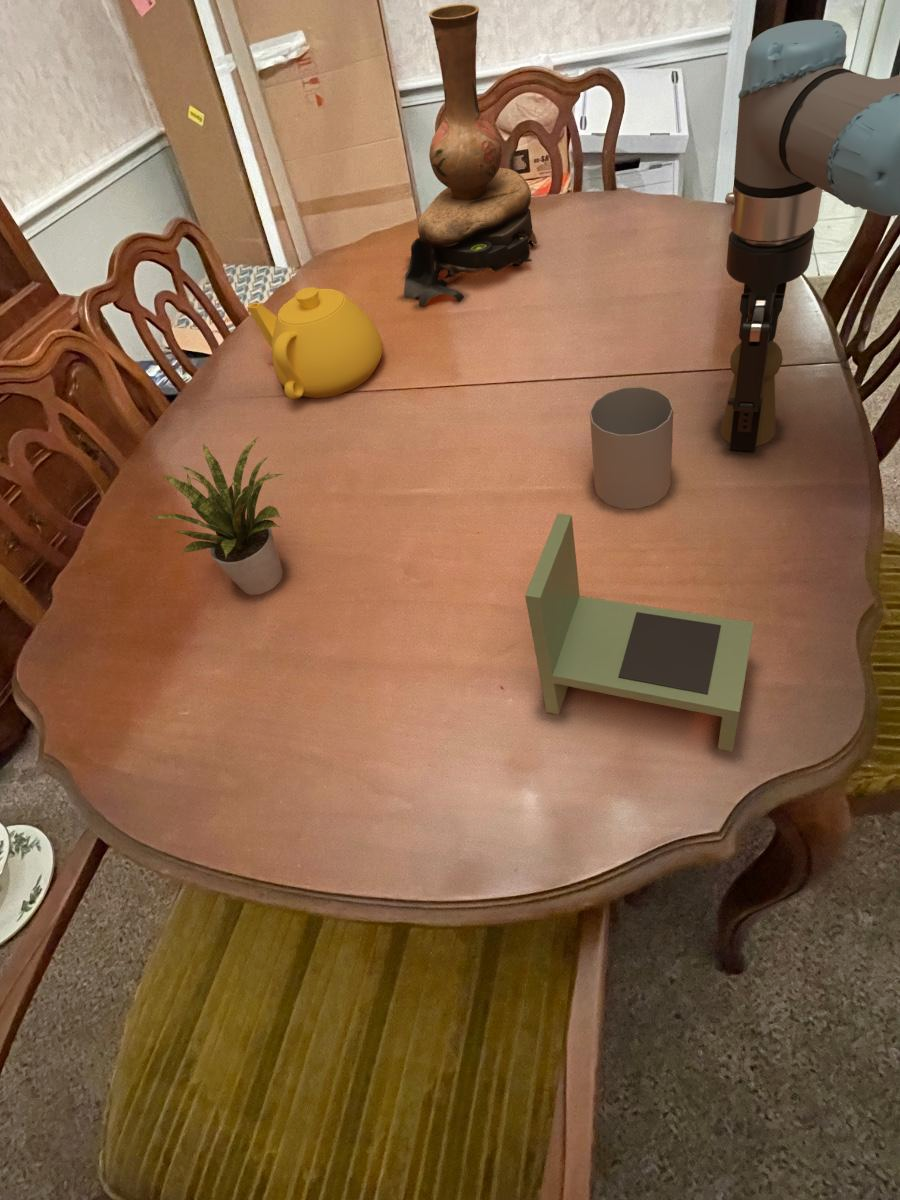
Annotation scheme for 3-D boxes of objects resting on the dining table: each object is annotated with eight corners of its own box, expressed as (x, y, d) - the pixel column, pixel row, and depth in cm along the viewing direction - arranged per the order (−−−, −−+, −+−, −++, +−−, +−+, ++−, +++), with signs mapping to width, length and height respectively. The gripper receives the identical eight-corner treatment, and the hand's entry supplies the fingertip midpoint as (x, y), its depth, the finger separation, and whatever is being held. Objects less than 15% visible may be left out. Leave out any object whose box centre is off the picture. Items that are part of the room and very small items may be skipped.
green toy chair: (746, 665, 67) (768, 536, 55) (732, 752, 62) (753, 631, 50) (571, 635, 73) (557, 513, 61) (546, 712, 68) (524, 595, 56)
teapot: (405, 346, 115) (384, 264, 106) (341, 420, 105) (311, 337, 96) (302, 335, 124) (274, 259, 114) (234, 403, 114) (197, 326, 105)
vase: (537, 290, 119) (508, 20, 93) (401, 310, 123) (336, 57, 97) (537, 225, 134) (511, -23, 108) (416, 245, 138) (363, 11, 112)
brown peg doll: (715, 418, 90) (722, 335, 82) (768, 411, 89) (780, 326, 81) (725, 450, 86) (734, 365, 78) (781, 443, 85) (795, 356, 77)
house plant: (337, 523, 91) (290, 410, 79) (324, 610, 82) (269, 497, 70) (226, 540, 93) (164, 432, 81) (202, 626, 84) (127, 519, 72)
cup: (634, 519, 82) (633, 446, 74) (579, 488, 87) (573, 416, 79) (686, 478, 84) (690, 403, 77) (629, 451, 89) (628, 378, 82)
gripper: (742, 185, 77) (724, 379, 94) (713, 281, 66) (699, 481, 83) (823, 181, 75) (789, 382, 92) (806, 281, 64) (772, 487, 81)
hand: (746, 428), depth 87 cm, fingers open, 6 cm apart
